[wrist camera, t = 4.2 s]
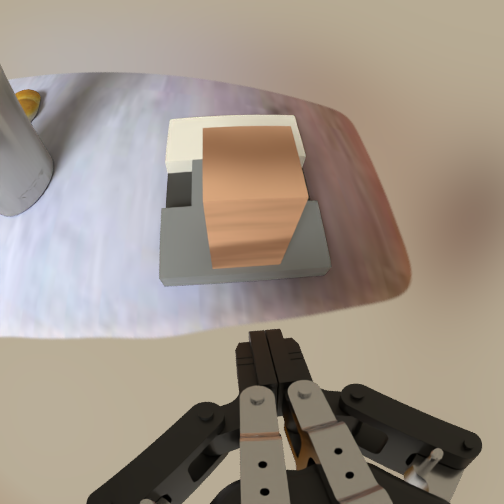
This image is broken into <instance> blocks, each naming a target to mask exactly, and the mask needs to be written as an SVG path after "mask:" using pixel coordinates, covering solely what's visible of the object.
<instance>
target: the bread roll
mask: <svg viewBox="0 0 504 504" xmlns="http://www.w3.org/2000/svg"><path fill="white" fill-rule="evenodd" d="M15 95H16V97H17V99H18V101H19V103H20V105H21V106H22V108H23V110H24V112H25V114H26V115H27V117H28V119H29V121H30V122H31V121H32V120H33V119H34V117H35V116H36V114H37V111H38V108H39V104H40V99H41V97H40V95H39V93H38V92H36V91H34V90H30V89H28V90H22V91H20V92H17V93H16V94H15Z"/></svg>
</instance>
